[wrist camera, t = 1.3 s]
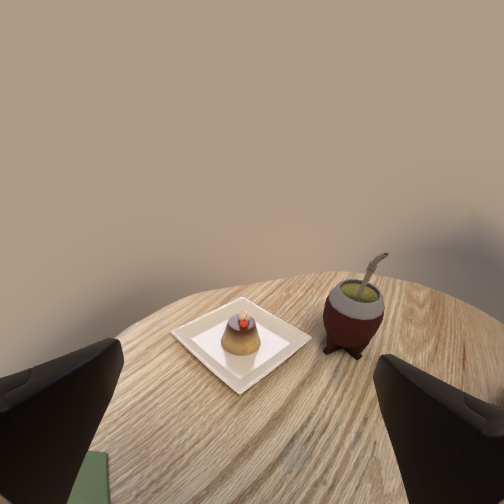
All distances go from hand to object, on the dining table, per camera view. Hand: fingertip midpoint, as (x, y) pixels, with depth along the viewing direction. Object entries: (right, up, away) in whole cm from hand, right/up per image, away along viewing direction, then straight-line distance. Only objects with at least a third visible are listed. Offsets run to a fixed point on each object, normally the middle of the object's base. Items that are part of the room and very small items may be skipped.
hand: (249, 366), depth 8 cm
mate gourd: (+11, -8, +23) cm, 27 cm away
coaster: (-14, -15, +4) cm, 21 cm away
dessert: (-1, -7, +23) cm, 24 cm away
